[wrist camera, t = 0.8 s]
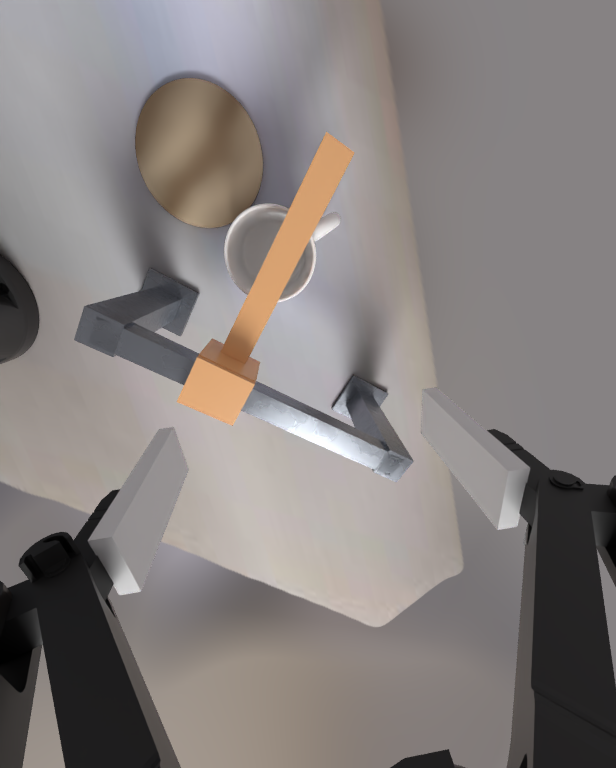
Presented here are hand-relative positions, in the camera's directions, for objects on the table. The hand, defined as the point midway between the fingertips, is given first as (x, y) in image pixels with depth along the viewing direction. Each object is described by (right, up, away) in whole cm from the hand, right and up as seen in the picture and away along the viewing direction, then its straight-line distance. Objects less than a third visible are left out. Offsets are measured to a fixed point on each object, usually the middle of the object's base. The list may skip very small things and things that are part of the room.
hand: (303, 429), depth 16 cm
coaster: (-11, +26, +17) cm, 33 cm away
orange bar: (-3, +11, +11) cm, 16 cm away
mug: (-2, +19, +21) cm, 28 cm away
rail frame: (-5, +6, +26) cm, 27 cm away
